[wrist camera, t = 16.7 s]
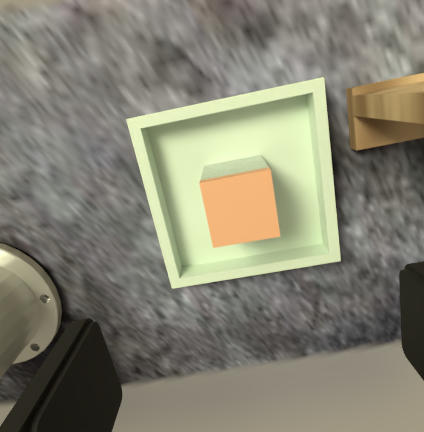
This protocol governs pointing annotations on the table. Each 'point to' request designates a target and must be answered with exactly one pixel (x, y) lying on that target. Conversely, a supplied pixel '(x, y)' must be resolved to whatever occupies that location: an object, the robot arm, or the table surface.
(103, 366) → the robot arm
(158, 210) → the tray
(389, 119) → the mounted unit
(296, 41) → the table surface
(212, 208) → the block
